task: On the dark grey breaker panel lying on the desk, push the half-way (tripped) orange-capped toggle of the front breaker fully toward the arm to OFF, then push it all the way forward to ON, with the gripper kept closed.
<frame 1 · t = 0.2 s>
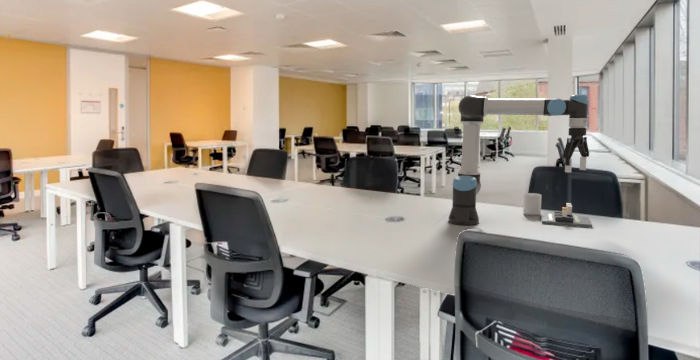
hand: (575, 171, 203), 27 cm above the table, fingers open, 13 cm apart
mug: (531, 213, 232), on the table
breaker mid: (569, 210, 213), point 6 cm above the table, slide at 5.0 cm
panel: (565, 221, 213), on the table
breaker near: (564, 212, 208), point 6 cm above the table, slide at 2.5 cm
breaker far: (568, 207, 218), point 6 cm above the table, slide at 5.0 cm
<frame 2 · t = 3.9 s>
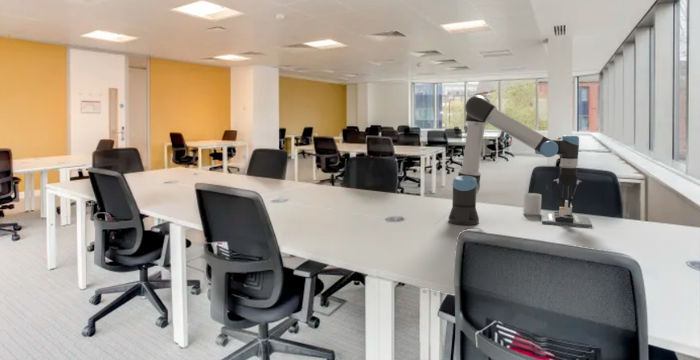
hand: (565, 213, 208), 5 cm above the table, fingers closed
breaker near: (561, 211, 209), point 6 cm above the table, slide at 1.2 cm, touching gripper
everything else where it was.
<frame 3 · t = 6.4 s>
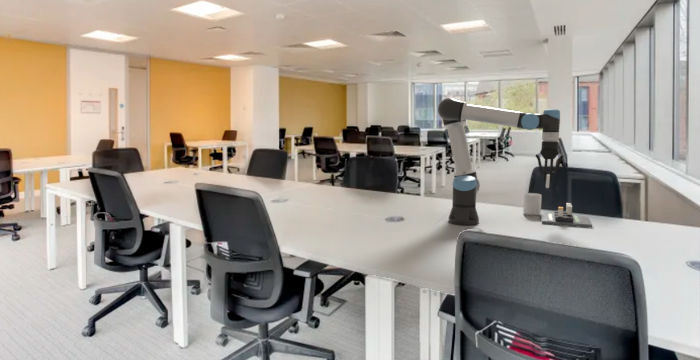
hand: (547, 187, 210), 18 cm above the table, fingers closed
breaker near: (560, 211, 209), point 6 cm above the table, slide at 0.7 cm
everything else where it was.
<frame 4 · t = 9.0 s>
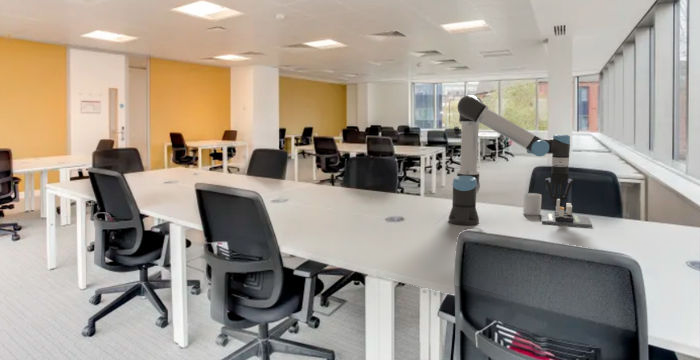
hand: (557, 212, 210), 6 cm above the table, fingers closed
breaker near: (561, 211, 209), point 6 cm above the table, slide at 1.2 cm, touching gripper
everything else where it was.
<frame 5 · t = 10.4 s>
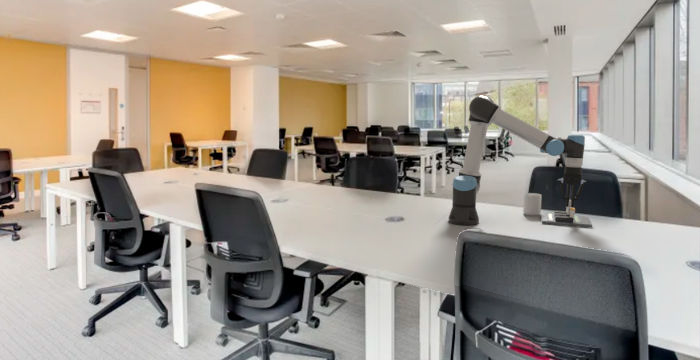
hand: (568, 213, 208), 6 cm above the table, fingers closed
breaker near: (572, 212, 207), point 6 cm above the table, slide at 6.0 cm, touching gripper
everything else where it was.
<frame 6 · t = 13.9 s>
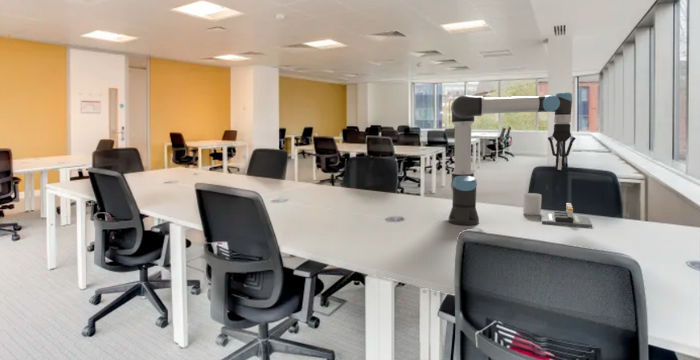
hand: (559, 169, 215), 26 cm above the table, fingers closed
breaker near: (570, 212, 207), point 6 cm above the table, slide at 5.1 cm
everything else where it was.
at the end: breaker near slide at 5.1 cm; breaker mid slide at 5.0 cm; breaker far slide at 5.0 cm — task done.
